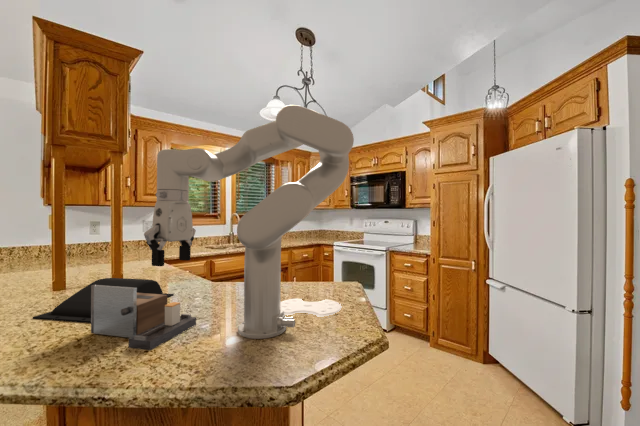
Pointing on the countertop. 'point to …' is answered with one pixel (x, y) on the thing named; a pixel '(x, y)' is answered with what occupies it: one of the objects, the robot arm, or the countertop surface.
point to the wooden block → (150, 311)
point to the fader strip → (160, 333)
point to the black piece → (80, 302)
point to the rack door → (113, 310)
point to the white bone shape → (310, 307)
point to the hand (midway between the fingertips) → (172, 262)
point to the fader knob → (172, 313)
